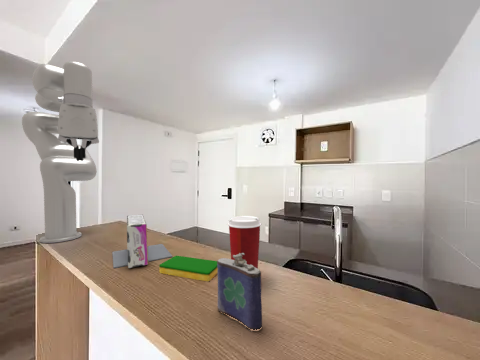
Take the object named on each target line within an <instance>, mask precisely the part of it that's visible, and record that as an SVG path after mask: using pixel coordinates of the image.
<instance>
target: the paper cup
mask: <svg viewBox="0 0 480 360" xmlns="http://www.w3.org/2000/svg"><path fill="white" fill-rule="evenodd" d="M226 225H227V226H228V233H229V245H230V259H231V260H235V259H234V258H233V255H237V254H239V253H244V255H242V254H241V255H242V259H244V260H246V261H247V263H246V264H248V265H253V266H254V267H255V268H257V269H259V254H260V235H261V234H260V232H261V225H262V223H261V220H260V218H259V216H253V215H238V216H232V217H230V218H229V220H228V222H227V224H226Z"/></svg>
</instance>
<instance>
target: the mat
mask: <svg viewBox="0 0 480 360" xmlns="http://www.w3.org/2000/svg"><path fill="white" fill-rule="evenodd" d="M147 248H148V263H149V262H154V261H159V260H163V259H171V258H172V257H173V254H171V252H170V251H169V250H168V248H166V246H165V245H164V244H163V243H159V244H153V245H147ZM111 253H112V266H113V269H117V268H122V267H128V254H127V248H126V249H120V250H115V251H112V252H111Z"/></svg>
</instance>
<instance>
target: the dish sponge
mask: <svg viewBox="0 0 480 360" xmlns="http://www.w3.org/2000/svg"><path fill="white" fill-rule="evenodd" d="M217 261H218V260H211V259H203V258H197V257H189V256H182V255H174V256H172V257H170V258H168V259H167V260H166V261H164V262H162V263H160V264H159V265H158V266H159V268H158V269H159V274H163V275H167V274H168V276H175V277H180V278H185V279H191V280H197V281H204V282H210V281H211V280H212V279H214V277H215V276H216V275H218V268H217Z"/></svg>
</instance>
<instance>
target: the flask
mask: <svg viewBox="0 0 480 360" xmlns="http://www.w3.org/2000/svg"><path fill="white" fill-rule="evenodd" d="M241 254H242V255H244V253H239V254H237V255H233V258H234V259H235V260H231V258H228V257H227V258H226V257H222V258H219V259H217V260H216V261H217V268H218V273H217V310H219V311H220V312H222V313H225V314H227V315H229V316H231V317H233V318H235V319H237V320H238V321H240V322H242V323H243V324H244V325H246V326H247V327H248V328H250V329H253V330H255V329H256V330H257V329H260V328H261V327H262V328H263V307H262V271H261V270H260V269H259V268H258V269H257V268H255V267H254V266H253V265H248V264H246V263H247V261H246V260H244V259H242V255H241ZM219 311H218V312H219ZM220 312H219V313H220ZM238 321H237V322H238ZM244 325H243V326H244Z"/></svg>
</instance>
